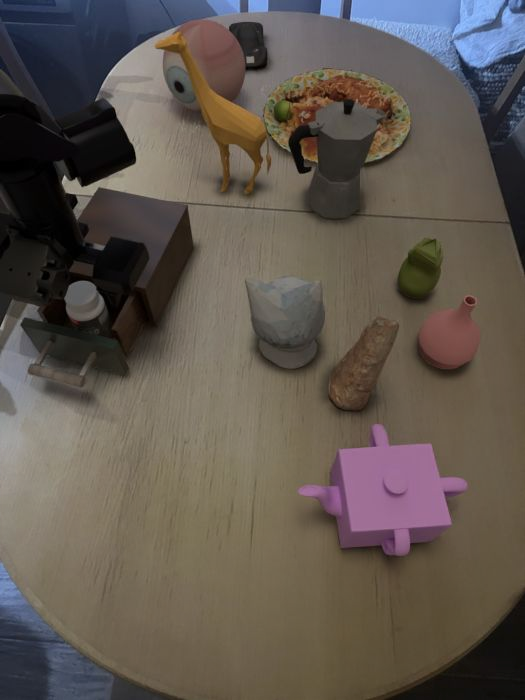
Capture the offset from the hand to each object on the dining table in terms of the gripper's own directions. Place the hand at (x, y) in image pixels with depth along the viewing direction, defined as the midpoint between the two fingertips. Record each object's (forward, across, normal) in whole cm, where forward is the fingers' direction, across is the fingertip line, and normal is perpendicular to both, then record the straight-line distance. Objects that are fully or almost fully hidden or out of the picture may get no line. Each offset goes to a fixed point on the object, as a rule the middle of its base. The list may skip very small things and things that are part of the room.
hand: (83, 297), depth 65 cm
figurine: (+9, +25, +6) cm, 27 cm away
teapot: (+9, +40, -13) cm, 43 cm away
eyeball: (+9, -3, +55) cm, 56 cm away
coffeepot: (+9, +25, +35) cm, 44 cm away
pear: (+9, +41, +20) cm, 46 cm away
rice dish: (+9, +22, +57) cm, 62 cm away
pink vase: (+9, +46, +10) cm, 48 cm away
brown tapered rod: (+9, +35, +1) cm, 36 cm away
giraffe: (+9, +7, +34) cm, 36 cm away
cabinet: (+9, 0, +11) cm, 15 cm away
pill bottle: (+7, 0, -1) cm, 7 cm away
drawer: (+8, 0, 0) cm, 8 cm away
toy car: (+9, -1, +76) cm, 77 cm away
